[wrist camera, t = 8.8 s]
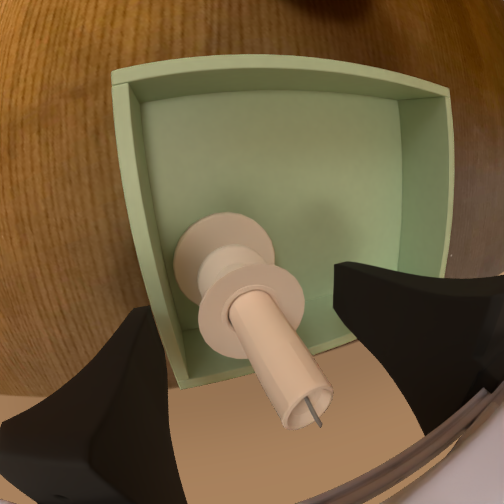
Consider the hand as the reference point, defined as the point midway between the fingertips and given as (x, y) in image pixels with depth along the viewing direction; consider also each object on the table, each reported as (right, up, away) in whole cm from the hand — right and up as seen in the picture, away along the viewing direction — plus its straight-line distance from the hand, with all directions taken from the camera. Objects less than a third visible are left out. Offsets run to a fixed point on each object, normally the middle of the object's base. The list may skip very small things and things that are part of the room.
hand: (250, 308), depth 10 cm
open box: (+3, +5, +5) cm, 7 cm away
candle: (-1, +2, +4) cm, 5 cm away
